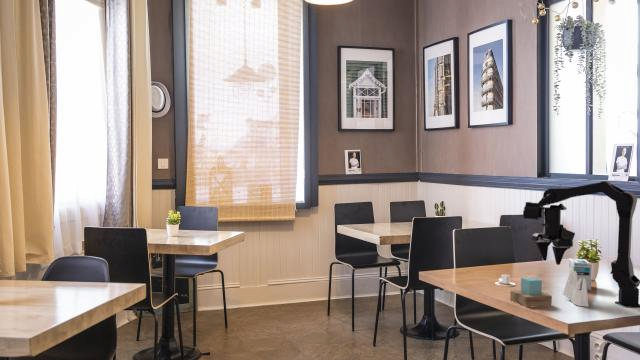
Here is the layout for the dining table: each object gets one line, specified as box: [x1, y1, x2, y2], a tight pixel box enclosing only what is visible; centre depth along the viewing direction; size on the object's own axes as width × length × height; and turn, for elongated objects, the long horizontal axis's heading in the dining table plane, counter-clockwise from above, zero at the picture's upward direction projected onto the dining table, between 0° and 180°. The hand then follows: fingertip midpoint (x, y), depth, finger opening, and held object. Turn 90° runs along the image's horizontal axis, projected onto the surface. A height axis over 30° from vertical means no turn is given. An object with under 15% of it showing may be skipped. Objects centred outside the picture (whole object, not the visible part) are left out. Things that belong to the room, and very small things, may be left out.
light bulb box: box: [568, 258, 592, 291], centre depth 246 cm, size 11×7×11 cm, turn 168°
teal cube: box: [520, 277, 543, 295], centre depth 219 cm, size 5×5×5 cm
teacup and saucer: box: [494, 273, 516, 287], centre depth 252 cm, size 9×8×4 cm
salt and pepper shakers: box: [562, 271, 589, 307], centre depth 220 cm, size 12×4×11 cm, turn 4°
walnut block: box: [509, 289, 553, 308], centre depth 219 cm, size 10×10×4 cm
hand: (551, 262), depth 233 cm, fingers open, 9 cm apart
